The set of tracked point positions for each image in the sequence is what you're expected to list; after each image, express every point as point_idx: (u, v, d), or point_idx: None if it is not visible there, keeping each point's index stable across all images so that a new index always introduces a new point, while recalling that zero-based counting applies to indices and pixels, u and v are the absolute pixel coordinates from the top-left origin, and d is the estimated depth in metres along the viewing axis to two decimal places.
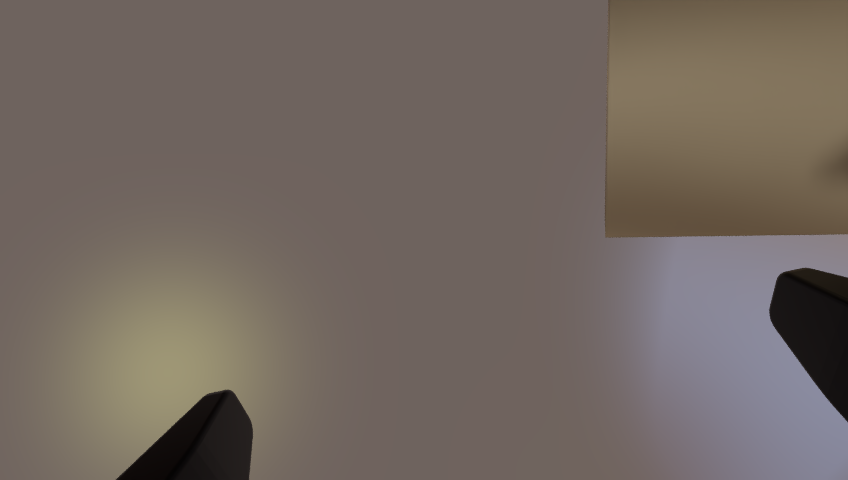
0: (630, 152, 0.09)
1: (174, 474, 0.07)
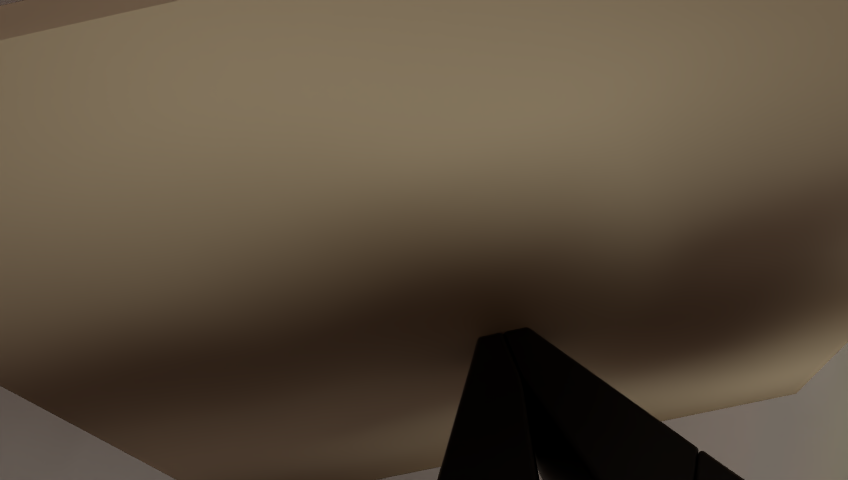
0: None
1: (523, 401, 0.07)
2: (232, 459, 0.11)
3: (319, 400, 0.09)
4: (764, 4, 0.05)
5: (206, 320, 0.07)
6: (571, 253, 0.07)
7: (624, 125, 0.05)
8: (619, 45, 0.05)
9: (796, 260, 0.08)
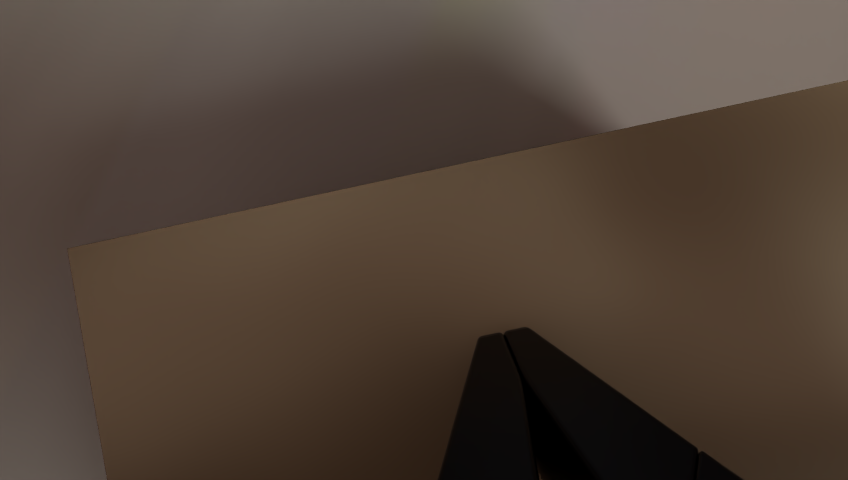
0: None
1: (523, 401, 0.07)
2: None
3: None
4: (616, 194, 0.09)
5: (288, 438, 0.09)
6: None
7: (569, 268, 0.09)
8: (545, 216, 0.09)
9: (804, 437, 0.09)
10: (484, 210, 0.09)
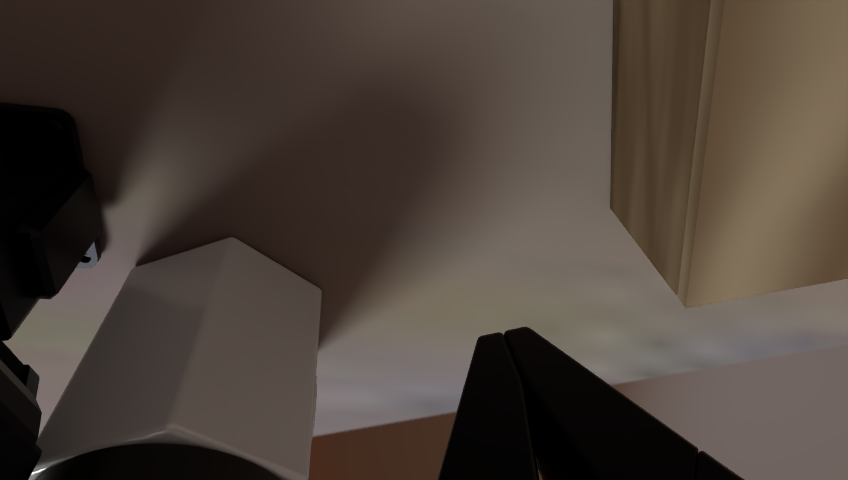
0: None
1: (523, 401, 0.07)
2: None
3: None
4: None
5: None
6: None
7: None
8: None
9: None
10: None
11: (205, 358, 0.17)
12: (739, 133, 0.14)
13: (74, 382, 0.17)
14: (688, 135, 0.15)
